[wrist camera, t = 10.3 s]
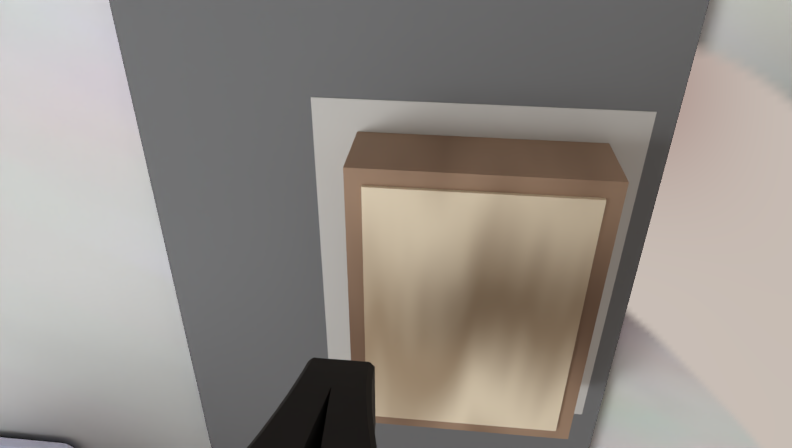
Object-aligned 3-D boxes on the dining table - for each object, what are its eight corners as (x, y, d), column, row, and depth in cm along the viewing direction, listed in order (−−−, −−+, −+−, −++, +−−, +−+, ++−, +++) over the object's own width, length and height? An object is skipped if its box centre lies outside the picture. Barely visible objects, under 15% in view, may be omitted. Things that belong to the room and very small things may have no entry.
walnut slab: (363, 369, 19) (558, 385, 18) (352, 423, 17) (568, 442, 17) (357, 131, 15) (609, 143, 14) (342, 169, 13) (630, 184, 12)
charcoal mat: (577, 474, 21) (579, 485, 21) (216, 442, 22) (212, 452, 22) (703, -7, 13) (710, -3, 12) (113, -23, 14) (104, -20, 13)
